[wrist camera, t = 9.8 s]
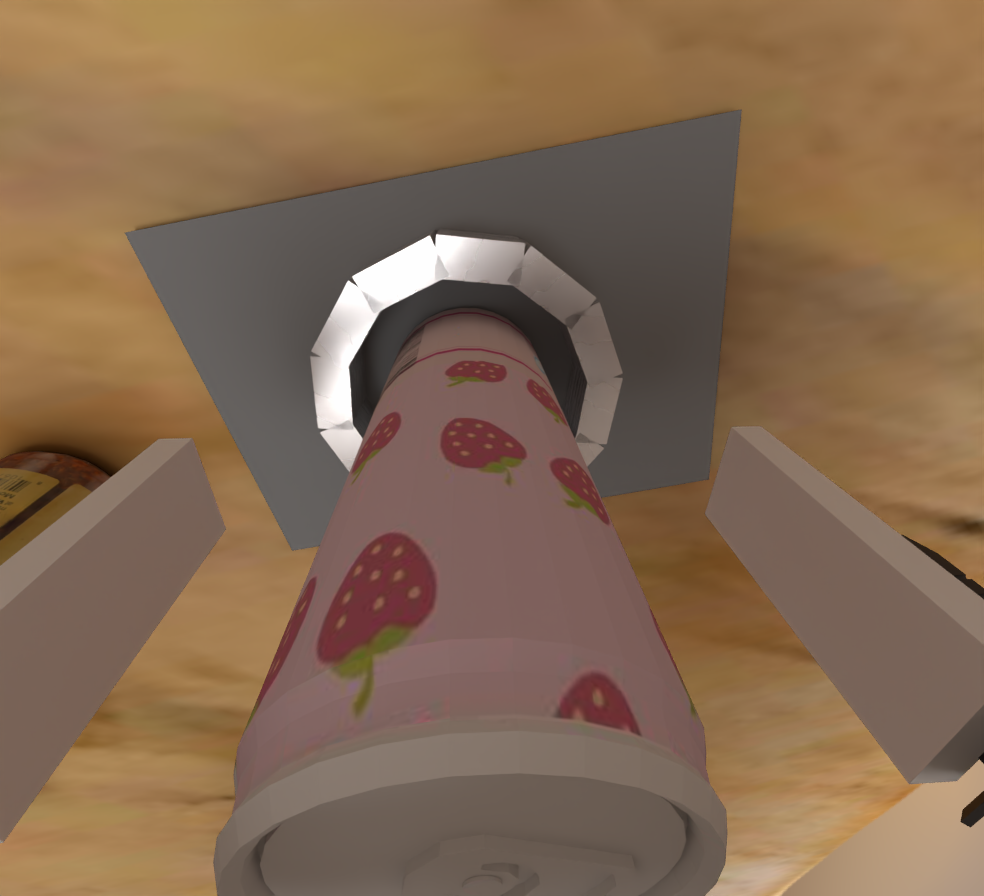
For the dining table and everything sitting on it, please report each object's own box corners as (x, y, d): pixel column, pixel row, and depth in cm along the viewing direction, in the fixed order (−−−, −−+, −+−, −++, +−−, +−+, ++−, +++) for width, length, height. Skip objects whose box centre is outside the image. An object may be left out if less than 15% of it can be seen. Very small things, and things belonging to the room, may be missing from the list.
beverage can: (535, 440, 19) (687, 959, 6) (402, 443, 19) (264, 995, 6) (543, 304, 16) (855, 731, 3) (387, 305, 16) (62, 774, 3)
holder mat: (733, 112, 14) (741, 109, 14) (703, 473, 21) (708, 479, 21) (134, 231, 15) (124, 232, 15) (295, 543, 22) (292, 550, 21)
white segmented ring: (653, 343, 17) (681, 365, 15) (498, 521, 21) (502, 558, 19) (422, 159, 14) (415, 153, 12) (288, 410, 18) (263, 440, 16)
